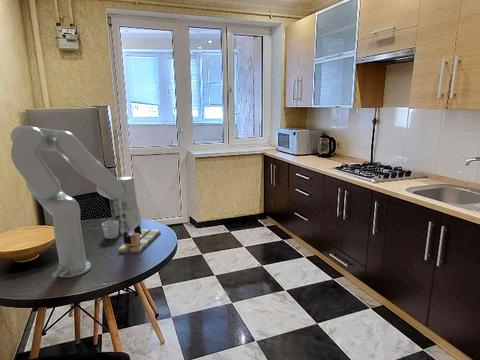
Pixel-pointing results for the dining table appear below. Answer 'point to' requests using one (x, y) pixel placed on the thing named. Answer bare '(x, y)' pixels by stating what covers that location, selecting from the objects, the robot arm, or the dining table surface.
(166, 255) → the dining table surface
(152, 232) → the slider board
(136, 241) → the fader tab
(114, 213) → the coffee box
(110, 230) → the cup
